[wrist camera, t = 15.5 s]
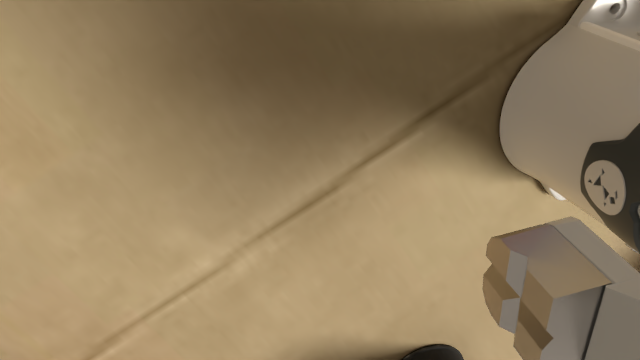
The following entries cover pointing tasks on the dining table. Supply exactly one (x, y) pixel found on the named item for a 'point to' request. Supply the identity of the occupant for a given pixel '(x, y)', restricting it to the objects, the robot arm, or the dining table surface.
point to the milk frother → (435, 353)
